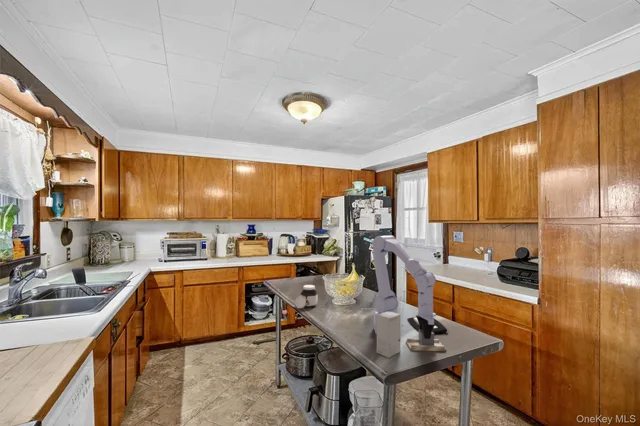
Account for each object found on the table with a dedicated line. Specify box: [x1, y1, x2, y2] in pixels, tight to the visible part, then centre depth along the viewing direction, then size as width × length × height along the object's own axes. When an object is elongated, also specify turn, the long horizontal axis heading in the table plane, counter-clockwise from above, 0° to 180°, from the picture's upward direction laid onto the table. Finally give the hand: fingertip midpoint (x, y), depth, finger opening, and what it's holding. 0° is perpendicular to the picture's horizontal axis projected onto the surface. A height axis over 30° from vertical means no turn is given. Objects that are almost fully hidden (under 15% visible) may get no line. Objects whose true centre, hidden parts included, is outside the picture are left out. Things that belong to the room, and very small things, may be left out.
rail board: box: [405, 337, 447, 352], centre depth 118 cm, size 14×7×2 cm, turn 87°
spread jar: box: [295, 284, 319, 309], centre depth 170 cm, size 12×11×12 cm
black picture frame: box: [406, 316, 448, 335], centre depth 141 cm, size 20×3×14 cm
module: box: [418, 330, 435, 345], centre depth 118 cm, size 5×4×6 cm
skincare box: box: [376, 311, 401, 359], centre depth 113 cm, size 8×6×15 cm
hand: (425, 336), depth 118 cm, fingers closed on module, 4 cm apart
